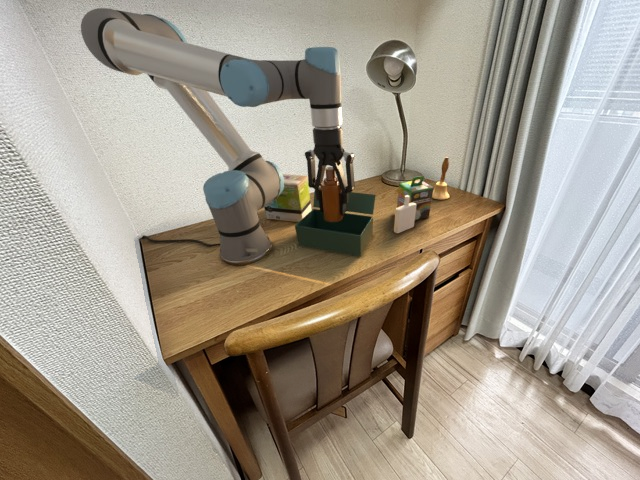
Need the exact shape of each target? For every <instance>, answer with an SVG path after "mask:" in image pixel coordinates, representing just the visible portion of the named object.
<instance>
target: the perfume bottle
mask: <svg viewBox="0 0 640 480" xmlns="http://www.w3.org/2000/svg"><path fill="white" fill-rule="evenodd" d="M409 198H410V196H408V195H407V196H405V200H404V205H403V206H400V207H398V208H397V207H396V208H395V211H394V226H393V232H394V233H395V234H400V233H402V232H405V231H407V230H410V229H412V228H414V227H415V221H416V220H415V213H416V203H413V202H412V203H409Z"/></svg>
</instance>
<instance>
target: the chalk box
mask: <svg viewBox="0 0 640 480" xmlns="http://www.w3.org/2000/svg"><path fill="white" fill-rule="evenodd" d="M424 179H425V176H424V175H420V176H419V175H418V176H414V177H413V178H412V180H409V181H405V182H400V183H399V184H398V192H397V204H396V208H398V207H400V206H403V205H404V200H405V196H407V195H408V196H410V198H409V203H412V202H413V203H416V213H415V221H417V220H422V219H426V218H429V217H430V213H431V208H432V201H433V198H432V195H433V190H434V188H435V186H432V185H430V184H428V183H427V182H425V181H424Z"/></svg>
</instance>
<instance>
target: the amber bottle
mask: <svg viewBox="0 0 640 480" xmlns="http://www.w3.org/2000/svg"><path fill="white" fill-rule="evenodd" d="M341 192H342V190H341V187H340V185H339V182H338V179H337V176H336V173H335V170H334V169H333V167H332V166H326V168H325V178H323V181H322V182H321V193H322V204H323V215H324V220H325V221H327V222H338V221H341V220H342V219H343V215H341V213H340V193H341Z"/></svg>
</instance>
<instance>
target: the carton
mask: <svg viewBox="0 0 640 480" xmlns="http://www.w3.org/2000/svg"><path fill="white" fill-rule="evenodd" d="M311 210H312V211H310V212H309V213H308V214H307V215H306V216H305V217H304V218H303V219H302V220H301V221H300V222H296V224H295V225H294V228H295V235H296V241H297V245H298V246H301V247H305V248H311V249H317V250H322V251H329V252H332V253H338V254H339V253H340V254H344V255H349V256H355V257H362V256H363V254H364V252H365V250H366V248H367V247H368V245H369V243H370V242H371V240H372V238H373V235H374V234H373V233H374V232H373V231H374V216H373V215H371V216H370V215H365V214H358V213H350V212H345V213H344V215H343V219H342V220H341V221H338V222H327V221H325V220H324V215H323V212H320V208H313V209H311Z"/></svg>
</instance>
